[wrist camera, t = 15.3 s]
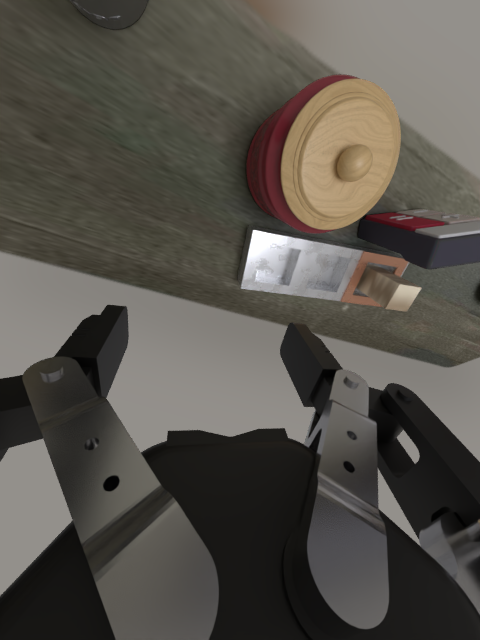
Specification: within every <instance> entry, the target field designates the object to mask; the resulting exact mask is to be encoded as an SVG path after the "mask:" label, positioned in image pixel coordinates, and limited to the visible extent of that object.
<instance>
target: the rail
mask: <svg viewBox="0 0 480 640" xmlns="http://www.w3.org/2000/svg"><path fill="white" fill-rule="evenodd" d="M367 264H371V265H377V266H379V267H381V268H383V269H385V270H387V271H389V272H391V273H393V274H395V275H397V276H399V277H401V276H402V274H403V273H404V271H405V269H406V267H407V266H408V264H409V262H407V261H405V260H404V258H403V257H402V256H400V255H397V254H394V253H390V252H385V251H379V250H374V249H369V248H364V247H359V246H354V245H349V244H343V243H338V242H333V241H328V240H323V239H318V238H312V237H307V236H302V235H297V234H292V233H287V232H282V231H276V230H271V229H266V228H261V227H256V226H251V225H248V228H247V233H246V238H245V243H244V248H243V252H242V257H241V262H240V267H239V272H238V277H237V280H238V283H239V285H240V288H242V289H249V290H257V291H265V292H273V293H281V294H289V295H297V296H305V297H313V298H321V299H329V300H337V301H341V302H347V303H355V304H363V305H371V306H379V307H382V306H381V305H380V304H378V303H377V302H375V301H374V300H373V299H371V298H370V297H368V296H367V295H365V294H364V293H363V292H361V291H360V290H358V289H357V288H356V286H357V284H358V282H359V280H360V278H361V276H362V274H363V272H364V270H365V268H366V266H367Z"/></svg>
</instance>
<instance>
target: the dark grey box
mask: <svg viewBox="0 0 480 640" xmlns="http://www.w3.org/2000/svg"><path fill="white" fill-rule="evenodd" d="M358 238H361V239H363V240H366V241H368V242H371V243H374V244H376V245H379V246H381V247H384V248H387V249H389V250H392V251H394V252H397V253H400V254H401V255H402V256H403V258H404V260H405V261H407V262H410V263H412V264H415V265H417V266H420V267H422V268H425V269H437V268H444V267H450V266H457V265H464V264H471V263H478V262H480V218H479V217H473V216H466V215H459V214H452V213H446V214H445V212H439V211H432V210H425V209H416V210H408V211H399V212H396V213H383V214H374V215H367V216H366V218H365V219H361V222H360V227H359V232H358Z"/></svg>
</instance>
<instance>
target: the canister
mask: <svg viewBox="0 0 480 640" xmlns="http://www.w3.org/2000/svg"><path fill="white" fill-rule="evenodd" d="M400 140H401V133H400V123H399V118H398V114H397V111H396V109H395V106H394V104H393V102H392V100H391V99H390V97H389V96H388V95H387V93H386V92H385V91H384V90H382V88H380V87H379V86H378V85H376V84H374V83H372V82H370V81H367V80H363V79H359V78H357V77H354V76H350V75H341V74H339V75H331V76H327V77H323V78H321V79H318V80H316V81H314V82H312V83H311V84H309V85H308V86H306V87H305V88H304V89H302V90H301V91H300V92H299V93H298V94H297V95H296V96H294V97H293V98H291V99H290V100H289V101H288V102H286V103H285V104H284V105H283V106H282V107H281V108H280V109H279V110H277V111H276V112H274V113H273V114H272V115H270V116H269V117H268V118H267V119H266V120H265V121H264V122H263V124H262V125H261V126H260V127H259V129H258V130H257V132H256V134H255V136H254V138H253V140H252V142H251V145H250V148H249V152H248V157H247V166H246V172H247V181H248V186H249V189H250V192H251V194H252V196H253V198H254V200H255V201H256V203H257V204H258V206H259V207H260V208H261V209H262V210H263V211H265V212H266V213H267V214H269V215H271V216H272V217H275V218H277V219H279V220H281V221H282V222H284V223H286V224H288V225H290V226H291V227H293V228H295V229H297V230H299V231H302V232H306V233H314V234H317V233H325V232H329V231H333V230H335V229H338V228H342V227H345V226H347V225H349V224H351V223H353V222H355V221H357V220H358V219H360V218H361V217H362V216H364V215H365V214H366V213H367V212H368V211H369V210H370V209H371V208H372V207H373V206H374V205H375V204H376V203H377V202H378V200H379V199H380V198H381V196H382V195H383V193H384V192H385V190H386V188H387V186H388V185H389V183H390V180H391V178H392V176H393V173H394V171H395V168H396V165H397V161H398V157H399V151H400Z"/></svg>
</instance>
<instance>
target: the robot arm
mask: <svg viewBox="0 0 480 640" xmlns="http://www.w3.org/2000/svg"><path fill="white" fill-rule="evenodd" d="M70 1H71V3H72V4H73V5H74V6H75V7H76V8H77V9H78V10H79V11H80V12H81V13H82V14H83V15H84V16H86V17H87V18H88V19H89V20H91V21H92V22H94V23H96V24H98V25H100V26H102V27H105V28H109V29H124V28H126V27H128V26H130V25H132V24H133V23H134V22H136V21H137V20H138V19H139V18H140V16H141V15H142V13H143V11H144V10H145V8H146V5H147V2H148V0H70ZM127 344H128V314H127V307H126V306H116V305H107V306H106V307H105V309H104V310H103V312H102V313H101V315H91V316H90V317H88V318H86V319H84V320H83V321H82V322H81V323H80V325H79V326H78V327H77V329H76V330H75V331H74V332H73V333H72V336H70V337H69V338H68V340H67V341H66V342H65V344H64V345H63V346H62V347H61V349H60V350H59V351H58V352H57V354H56V355H55V356H54V357H52V358H48V359H44V360H41V361H39V362H37V363H35V364H33V365H32V366H30V367H29V368H28V369H27V370H26V371H25V372H24V374H23V375H20V376H15V377H9V378H3V379H0V461H1V460H2V458H3V456H4V455H5V453H6V452H7V450H8V448H10V447H14V446H17V445H21V444H25V443H28V442H32V441H36V440H39V439H44V441H45V444H46V447H47V450H48V453H49V455H50V458H51V461H52V464H53V466H54V469H55V472H56V475H57V477H58V480H59V483H60V486H61V489H62V491H63V494H64V497H65V500H66V502H67V505H68V508H69V511H70V513H71V516H72V519H73V521H72V522H71V523H70V524H69V525H68V526H67V527H66V528H65V529H64V530H63V531H62V532H61V533H60V534H59V535H58V536H57V537H56V538H55V540H54V541H53V542H52V543H51V544H50V545H49V546H48V547H47V548H46V549H45V550H44V551H43V552H42V553H41V554H40V555H39V556H38V557H37V558H36V560H34V561H33V562H32V564H31V565H30V566H29V567H28V568H27V569H26V570H25V571H24V572H23V573H22V574H21V575H20V576H19V577H18V578H17V579H16V580H15V581H14V583H12V585H10V587H9V588H8V589H7V590H6V591H5V592H4V593H3V594H2V595H1V596H0V640H480V462H479V461H478V460H477V459H476V458H475V457H474V456H473V454H472V453H471V452H470V451H469V450H468V449H467V448H466V447H465V446H464V445H463V444H462V443H461V442H460V441H459V440H458V439H457V438H456V436H455V435H454V434H453V433H452V432H451V431H450V430H449V429H448V428H447V427H446V426H445V425H444V424H443V423H442V422H441V421H440V419H439V418H438V417H437V416H436V415H435V414H434V413H433V412H432V411H431V410H430V409H429V408H428V407H427V406H426V405H425V403H424V402H423V401H422V400H421V399H420V398H419V397H418V396H417V395H416V394H415V393H413V392H412V391H411V390H409V389H407V388H405V387H404V386H402V385H399V384H394V383H391V384H388V385H387V386H386V388H385V389H384V390H383V391H381V390H378V389H374V388H371V387H368V384H367V383H366V381H365V380H364V379H363V378H362V377H360V376H359V375H357V374H356V373H354V372H351V371H348V370H343V369H342V367H341V366H340V364H339V363H338V362H337V360H336V359H335V358H334V356H333V355H332V354H331V353H330V351H329V350H328V349H327V348H326V346H325V345H324V343H323V342H322V341H321V339H319V338H318V337H317V336H315V335H314V334H312V333H311V331H310V330H309V328H308V327H307V326H306V325H305V324H301V323H290V324H289V325H288V328H287V330H286V333H285V336H284V339H283V342H282V344H281V349H280V355H281V358H282V360H283V362H284V365H285V367H286V369H287V371H288V373H289V375H290V377H291V380H292V382H293V384H294V386H295V388H296V390H297V392H298V395H299V397H300V399H301V401H302V403H303V405H304V407H315V409H316V410H315V412H314V414H313V417H312V420H311V423H310V426H309V430H308V433H307V436H306V439H305V443H304V444H302V443H300V442H297V441H295V440H293V439H290V438H288V437H287V434H286V431H285V429H284V428H280V429H257V430H253V431H250V432H247V433H244V434H240V435H237V436H233V437H227V436H223V435H218V434H214V433H209V432H205V431H200V430H190V431H168V436H167V441H165V442H162V443H159V444H157V445H154V446H152V447H150V448H148V449H146V450H145V451H143V452H140V451H139V449H138V448H137V446H136V445H135V443H134V441H133V440H132V438H131V437H130V435H129V434H128V432H127V430H126V429H125V427H124V426H123V424H122V422H121V421H120V419H119V418H118V416H117V415H116V413H115V411H114V410H113V408H112V406H111V405H110V403H109V402H108V400H107V399H106V397H107V395H108V392H109V390H110V388H111V385H112V383H113V380H114V378H115V375H116V373H117V370H118V368H119V365H120V363H121V361H122V358H123V355H124V353H125V350H126V348H127ZM402 430H404V431H405V432H406V433H407V435H408V436H409V437H410V439H412V441H413V442H414V444H415V445H416V447H417V448H418V450H419V453H420V458H419V461H418V462H417V463H416V464H414V462H413V461H412V459H411V458H410V457H409V455H408V454H407V452H406V451H405V449H404V448H403V447H402V445H401V444H400V442H399V441H398V440H397V438H396V437H397V436H398V435H399V434H400V433H401V432H402ZM378 469H379V470H380V472H381V474H382V476H383V477H384V479H385V481H386V483H387V484H388V486H389V488H390V490H391V491H392V493H393V495H394V497H395V498H396V500H397V502H398V503H399V505H400V507H401V509H402V510H403V512H404V514H405V516H406V518H407V520H408V521H409V523H410V525H411V526H412V528H413V530H414V532H415V533H416V535H417V537H418V539H419V541H420V545H421V547H420V546H419V545H418V544H417V543H416V542H415V541H414V540H412V538H410V537H409V536H408V535H407V534H406V533H405V532H404V531H403V530H401V529H400V528H399V527H398V526H397V525H396V524H395V523H394V522H393V521H392V520H390V519H389V518H388V517H387V516H386V515H385V514H384V513H383V512H381V511H380V510H379V509H378Z"/></svg>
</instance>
